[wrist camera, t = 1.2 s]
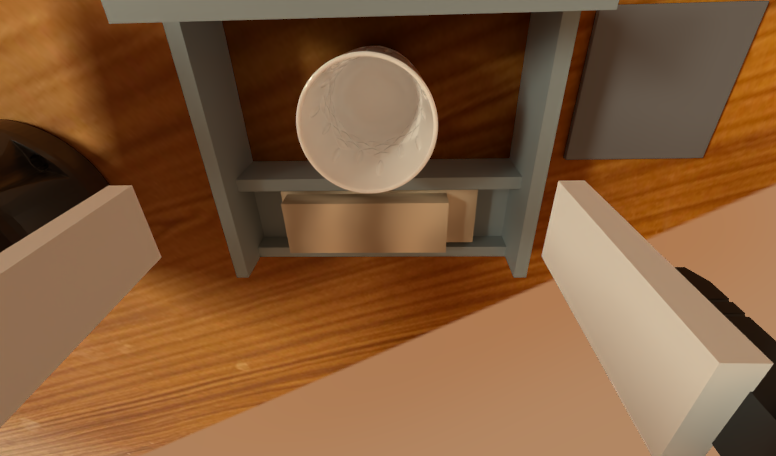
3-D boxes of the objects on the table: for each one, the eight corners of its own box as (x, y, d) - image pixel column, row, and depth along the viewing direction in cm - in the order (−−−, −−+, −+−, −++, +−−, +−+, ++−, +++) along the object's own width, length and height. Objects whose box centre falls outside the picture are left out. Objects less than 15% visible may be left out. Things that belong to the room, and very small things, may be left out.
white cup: (440, 121, 30) (456, 167, 22) (352, 155, 32) (334, 210, 23) (406, 17, 27) (408, 24, 18) (308, 62, 28) (268, 88, 20)
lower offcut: (295, 232, 35) (290, 242, 33) (286, 182, 32) (280, 191, 31) (469, 231, 34) (472, 242, 33) (474, 180, 32) (478, 189, 30)
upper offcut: (295, 241, 33) (290, 253, 32) (287, 194, 31) (281, 204, 29) (443, 240, 33) (445, 252, 31) (446, 192, 30) (448, 203, 29)
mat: (563, 157, 32) (565, 159, 31) (597, 5, 26) (601, 5, 25) (698, 155, 31) (702, 157, 31) (763, 0, 25) (769, 0, 25)
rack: (260, 239, 37) (205, 330, 26) (202, -4, 26) (75, -8, 16) (508, 238, 36) (551, 332, 25) (549, -14, 25) (650, -26, 15)
